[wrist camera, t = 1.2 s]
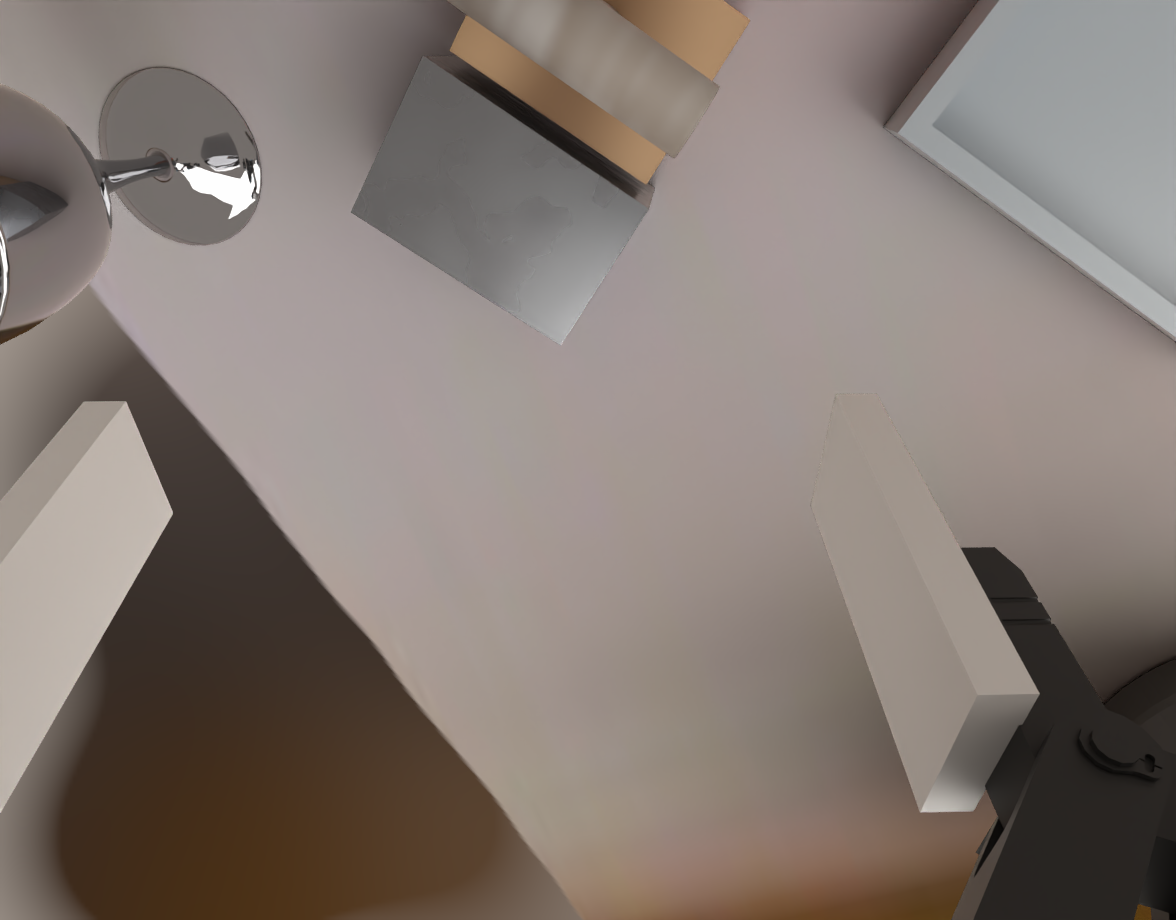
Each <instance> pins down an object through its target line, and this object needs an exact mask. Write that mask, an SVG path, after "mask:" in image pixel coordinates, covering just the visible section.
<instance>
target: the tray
mask: <svg viewBox="0 0 1176 920" xmlns="http://www.w3.org/2000/svg"><path fill="white" fill-rule="evenodd" d="M883 128H885V129H886V130H887V131H889V132H890V133H891V134H893V135H894V136H896V137H897V138H898V139H900V140H901V141H902V142H904V143H905V144H906V145H908V146H909V147H910V148H912V149H913V150H915V151H916V152H917V153H919V154H920V155H921V156H923V157H924V158H925V159H927V160H928V161H930V162H931V163H932V164H934V165H935V166H936V167H938V168H939V169H940V170H942V171H943V172H945V173H946V174H947V175H949V176H950V177H951V178H953V179H954V180H955V181H957V182H958V183H960V184H961V185H962V186H964V187H965V188H966V189H968V190H969V191H970V192H972V193H973V194H974V195H976V196H977V197H979V198H980V199H981V200H983V201H984V202H985V203H987V204H988V205H989V206H991V207H992V208H994V209H995V210H996V211H998V212H999V213H1000V214H1002V215H1003V216H1004V217H1006V218H1007V219H1009V220H1010V221H1011V222H1013V223H1014V224H1015V225H1017V226H1018V227H1019V228H1021V229H1022V230H1024V231H1025V232H1026V233H1028V234H1029V235H1030V236H1032V237H1033V238H1034V239H1036V240H1037V241H1038V242H1040V243H1041V244H1043V245H1044V246H1045V247H1047V248H1048V249H1049V250H1051V251H1052V252H1053V253H1055V254H1056V255H1058V256H1059V257H1060V258H1062V259H1063V260H1064V261H1066V262H1067V263H1068V264H1070V265H1071V266H1073V267H1074V268H1075V269H1077V270H1078V271H1079V272H1081V273H1082V274H1083V275H1085V276H1086V277H1088V278H1089V279H1090V280H1092V281H1093V282H1094V283H1096V284H1097V285H1098V286H1100V287H1101V288H1103V289H1104V290H1105V291H1107V292H1108V293H1109V294H1111V295H1112V296H1113V297H1115V298H1116V299H1117V300H1119V301H1120V302H1122V303H1123V304H1124V305H1126V306H1127V307H1128V308H1130V309H1131V310H1132V311H1134V312H1135V313H1137V314H1138V315H1139V316H1141V317H1142V318H1143V319H1145V320H1146V321H1147V322H1149V323H1150V324H1152V325H1153V326H1154V327H1156V328H1157V329H1158V330H1160V331H1161V332H1162V333H1164V334H1165V335H1167V336H1168V337H1169V338H1171V339H1172V340H1173V341H1175V342H1176V0H979V1H978V2H977V3H976V5H975V6H974V7H973V9H972V10H971V11H970V13H969V14H968V15H967V17H966V18H965V19H964V21H963V22H962V23H961V25H960V26H959V27H958V29H957V30H956V31H955V33H954V34H953V35H952V37H951V38H950V39H949V41H948V42H947V43H946V45H945V46H944V47H943V49H942V50H941V51H940V53H939V54H938V55H937V57H936V58H935V59H934V61H933V62H932V63H931V65H930V66H929V67H928V68H927V70H926V71H925V72H924V74H923V75H922V76H921V78H920V79H919V80H918V82H917V83H916V84H915V86H914V87H913V88H912V90H911V91H910V92H909V94H908V95H907V96H906V98H905V99H904V100H903V102H902V103H901V104H900V106H899V107H898V108H897V110H896V111H895V112H894V114H893V115H892V116H891V118H890V119H889V120H888V122H887V123H886V124H885V126H884V127H883Z"/></svg>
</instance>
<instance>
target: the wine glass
mask: <svg viewBox="0 0 1176 920" xmlns="http://www.w3.org/2000/svg"><path fill="white" fill-rule="evenodd" d="M99 145H100V153H101V157H102V160H101V159H94V158H93V156H92V154H91V152H90V151H89V150H88V149H87V147H86V146H85V145H84V143H83V142H82V141H81V139H80V138H79V137H78V136H77V135H76V134H75V133H74V132H73V131H72V130H71V129H70V128H69V127H68V126H67V125H66V124H65V123H64V122H63V121H62V120H61V119H60V118H59V117H58V116H57V115H56V114H54V113H53V112H52V111H50V110H49V109H48V108H47V107H45V106H44V105H43V104H41V103H40V102H38V101H36V100H34V99H33V98H31V97H29V96H27V95H26V94H24V93H22V92H19V91H17V90H15V89H13V88H10V87H8V86H6V85H3V84H0V345H1V344H3V343H5V342H7V341H9V340H11V339H13V338H15V337H17V336H19V335H21V334H23V333H25V332H27V331H29V330H31V329H32V328H34V327H35V326H37V325H38V324H40V323H41V322H43V321H44V320H45V319H47V318H48V317H50V316H51V315H53V314H54V313H55V312H57V311H58V310H60V309H61V308H63V307H64V306H65V305H67V304H68V303H69V302H70V301H71V300H72V299H73V298H75V297H76V296H77V295H78V294H79V293H80V292H81V291H82V290H83V289H84V288H85V287H86V286H87V285H88V283H89V282H90V281H91V280H92V279H93V277H94V276H95V275H96V273H97V272H98V270H99V269H100V267H101V265H102V263H103V262H104V260H105V258H106V256H107V253H108V249H109V245H110V241H111V231H112V208H111V200H110V196H109V194H110V193H112V192H113V191H116V193H117V195H118V197H119V198H120V199H121V201H122V202H123V203H124V204H125V206H126V207H127V208H128V210H129V211H130V212H131V213H132V214H133V215H134V216H135V217H136V218H137V219H138V220H139V221H141V222H142V223H143V224H145V225H146V226H147V227H149V228H150V229H151V230H153V231H155V232H156V233H158V234H160V235H162V236H164V237H165V238H168V239H171V240H173V241H176V242H179V243H184V244H189V245H211V244H217V243H220V242H222V241H225V240H227V239H230V238H231V237H233V236H234V235H236V234H237V233H238V232H240V231H241V230H242V229H243V228H244V226H245V225H246V224H247V223H248V222H249V220H250V219H251V217H252V215H253V214H254V212H255V210H256V207H257V204H258V201H259V198H260V191H261V184H262V181H261V165H260V159H259V154H258V150H257V147H256V144H255V141H254V138H253V136H252V134H251V132H250V130H249V128H248V126H247V124H246V122H245V121H244V119H243V118H242V116H241V115H240V113H239V112H238V111H237V109H236V108H235V107H234V106H233V104H232V103H231V102H230V101H229V100H228V99H227V98H226V97H225V96H224V95H223V94H222V93H221V92H219V91H218V90H217V89H216V88H215V87H213V86H212V85H211V84H209V83H208V82H206V81H204V80H202V79H201V78H199V77H197V76H195V75H193V74H190V73H187V72H185V71H182V70H177V69H172V68H149V69H145V70H140V71H138V72H136V73H134V74H132V75H130V76H128V77H126V78H125V79H124V80H123V81H121V82H120V83H119V84H118V85H117V86H116V87H115V89H114V90H113V91H112V93H111V94H110V95H109V97H108V99H107V101H106V103H105V105H104V107H103V110H102V115H101V119H100V124H99Z"/></svg>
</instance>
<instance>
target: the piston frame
mask: <svg viewBox="0 0 1176 920" xmlns="http://www.w3.org/2000/svg"><path fill="white" fill-rule="evenodd" d="M654 190H655V188H654V187H653V186H651V185H650V184H648V183H647V184H644V183H643V182H641V181H640V180H638V179H637V178H635V177H634V176H632V175H631V174H629V173H628V172H627V171H625V170H624V169H622V168H621V167H619V166H618V165H616V164H615V163H613V162H612V161H610V160H609V159H608V158H606V157H605V156H603V155H602V154H600V153H599V152H597V151H596V150H594V149H593V148H591V147H590V146H589V145H587V144H586V143H584V142H583V141H581V140H580V139H578V138H577V137H575V136H574V135H572V134H571V133H569V132H568V131H567V130H565V129H564V128H562V127H561V126H559V125H558V124H556V123H555V122H553V121H552V120H550V119H549V118H548V117H546V116H545V115H543V114H542V113H540V112H539V111H537V110H536V109H534V108H533V107H531V106H530V105H529V104H527V103H526V102H524V101H523V100H521V99H520V98H518V97H517V96H515V95H514V94H512V93H511V92H509V91H508V90H507V89H505V88H504V87H502V86H501V85H499V84H498V83H496V82H495V81H493V80H492V79H490V78H489V77H488V76H486V75H485V74H483V73H482V72H480V71H479V70H477V69H476V68H474V67H473V66H471V65H470V64H468V63H467V62H466V61H464V60H463V59H461V58H460V57H458V56H423V57H422V59H421V61H420V63H419V65H418V68H417V70H416V72H415V74H414V76H413V78H412V81H411V83H410V85H409V87H408V89H407V91H406V94H405V96H404V98H403V100H402V102H401V104H400V107H399V109H398V111H397V113H396V115H395V117H394V120H393V122H392V124H391V126H390V128H389V130H388V133H387V135H386V137H385V139H384V141H383V143H382V146H381V148H380V150H379V152H378V154H377V157H376V159H375V161H374V163H373V165H372V167H371V170H370V172H369V174H368V176H367V178H366V180H365V183H364V185H363V187H362V189H361V191H360V193H359V196H358V198H357V200H356V202H355V204H354V206H353V209H352V211H351V213H353V214H354V215H356V216H357V217H359V218H361V219H362V220H364V221H365V222H367V223H368V224H370V225H372V226H373V227H375V228H376V229H378V230H379V231H381V232H383V233H384V234H386V235H387V236H389V237H390V238H392V239H394V240H395V241H397V242H398V243H400V244H401V245H403V246H405V247H406V248H408V249H409V250H411V251H412V252H414V253H416V254H417V255H419V256H420V257H422V258H423V259H425V260H427V261H428V262H430V263H431V264H433V265H434V266H436V267H438V268H439V269H441V270H442V271H444V272H445V273H447V274H449V275H450V276H452V277H453V278H455V279H456V280H458V281H460V282H461V283H463V284H464V285H466V286H467V287H469V288H471V289H472V290H474V291H475V292H477V293H478V294H480V295H482V296H483V297H485V298H486V299H488V300H489V301H491V302H493V303H494V304H496V305H497V306H499V307H501V308H502V309H504V310H505V311H507V312H508V313H510V314H512V315H513V316H515V317H516V318H518V319H519V320H521V321H523V322H524V323H526V324H527V325H529V326H530V327H532V328H534V329H535V330H537V331H538V332H540V333H541V334H543V335H545V336H546V337H548V338H549V339H551V340H552V341H554V342H556V343H557V344H559V345H560V346H561V344H562V343H563V341H564V340H565V338H566V337H567V335H568V334H569V332H570V331H571V329H572V327H573V326H574V324H575V323H576V321H577V320H578V318H579V317H580V315H581V313H582V312H583V310H584V309H585V307H586V306H587V304H588V303H589V301H590V300H591V298H592V296H593V295H594V293H595V292H596V290H597V289H598V287H599V286H600V284H601V282H602V281H603V279H604V278H605V276H606V275H607V273H608V272H609V270H610V269H611V267H612V265H613V264H614V262H615V261H616V259H617V258H618V256H619V255H620V253H621V251H622V250H623V248H624V247H625V245H626V244H627V242H628V241H629V239H630V238H631V236H632V234H633V233H634V231H635V230H636V228H637V227H638V225H639V224H640V222H641V220H642V219H643V217H644V216H645V214H646V213H647V211H648V210H649V207H650V204H651V200H652V197H653V193H654Z"/></svg>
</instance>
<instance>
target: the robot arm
mask: <svg viewBox="0 0 1176 920" xmlns="http://www.w3.org/2000/svg"><path fill="white" fill-rule="evenodd" d="M811 508H812V511H813V513H814V516H815V519H816V522H817V525H818V527H819V530H820V533H821V536H822V539H823V541H824V544H825V547H826V550H827V553H828V555H829V558H830V561H831V564H832V567H833V570H834V572H835V575H836V578H837V581H838V584H839V586H840V589H841V592H842V595H843V598H844V600H845V603H846V606H847V609H848V612H849V614H850V617H851V620H852V623H853V626H854V628H855V631H856V634H857V637H858V640H859V642H860V645H861V648H862V651H863V654H864V656H865V659H866V662H867V665H868V668H869V670H870V673H871V676H872V679H873V682H874V685H875V687H876V690H877V693H878V696H879V699H880V701H881V704H882V707H883V710H884V713H885V715H886V718H887V721H888V724H889V727H890V729H891V732H892V735H893V738H894V741H895V743H896V746H897V749H898V752H899V755H900V757H901V760H902V763H903V766H904V769H905V771H906V774H907V777H908V780H909V783H910V785H911V788H912V791H913V794H914V797H915V799H916V802H917V805H918V808H919V811H920V812H967V811H974V809H975V808H976V806H977V804H978V802H979V800H980V799H981V797H982V795H983V793H984V792H985V790H987V792H988V794H989V797H990V799H991V801H992V804H993V806H994V808H995V810H996V813H997V815H998V817H997V818H996V820H995V822H994V823H993V825H992V827H991V828H990V830H989V832H988V833H987V835H986V837H985V838H984V840H983V841H982V843H981V845H980V846H979V848H978V850H977V851H976V853H978V854H979V857H978V859H977V862H976V864H975V866H974V869H973V871H972V873H971V875H970V878H969V880H968V882H967V885H966V887H965V889H964V892H963V894H962V896H961V899H960V901H959V903H958V905H957V908H956V910H955V912H954V915H953V917H952V919H951V920H1134V917H1135V913H1136V909H1137V906H1138V904H1141V905H1144V906H1148V907H1151V915H1152V920H1176V659H1175V660H1172V661H1170V662H1168V663H1165V664H1163V665H1161V666H1159V667H1157V668H1155V669H1153V670H1151V671H1149V672H1148V673H1146V674H1144V675H1142V676H1141V677H1139V678H1138V679H1136V680H1134V681H1133V682H1132V683H1130V684H1129V685H1127V686H1126V687H1124V688H1123V689H1122V690H1121V691H1119V692H1118V693H1117V694H1116V695H1115V696H1113V697H1112V698H1111V699H1110V700H1109V701H1108V702H1107V703H1106V704H1105V705H1103V703H1102V702H1101V700H1100V699H1099V697H1098V695H1097V694H1096V692H1095V690H1094V689H1093V687H1092V685H1091V684H1090V682H1089V681H1088V679H1087V677H1086V676H1085V674H1084V672H1083V671H1082V669H1081V667H1080V666H1079V664H1078V663H1077V661H1076V659H1075V658H1074V656H1073V654H1072V653H1071V651H1070V649H1069V648H1068V646H1067V644H1066V643H1065V641H1064V640H1063V638H1062V636H1061V635H1060V633H1059V631H1058V630H1057V628H1056V626H1055V625H1054V624H1051V621H1050V620H1051V618H1050V617H1049V615H1048V613H1047V612H1046V610H1045V608H1044V607H1043V605H1042V603H1041V602H1038V601H1037V598H1038V597H1037V595H1036V594H1035V592H1034V590H1033V589H1032V587H1031V585H1030V584H1029V582H1028V580H1027V579H1026V577H1025V575H1024V574H1023V572H1022V571H1021V570H1020V569H1019V568H1018V567H1017V566H1016V565H1014V564H1013V563H1012V562H1011V561H1010V560H1009V559H1007V558H1006V557H1005V556H1004V555H1003V554H1002V553H1000V552H999V551H998V550H997V549H996V548H995V547H981V548H960V546H959V544H958V542H957V541H956V539H955V537H954V535H953V533H952V531H951V530H950V528H949V526H948V524H947V522H946V520H945V519H944V517H943V515H942V513H941V511H940V509H939V507H938V506H937V504H936V502H935V500H934V498H933V496H932V495H931V493H930V491H929V489H928V487H927V485H926V484H925V482H924V480H923V478H922V476H921V474H920V473H919V471H918V469H917V467H916V465H915V463H914V461H913V460H912V458H911V456H910V454H909V452H908V450H907V449H906V447H905V445H904V443H903V441H902V439H901V438H900V436H899V434H898V432H897V430H896V428H895V427H894V425H893V423H892V421H891V419H890V417H889V415H888V414H887V412H886V410H885V408H884V406H883V404H882V403H881V401H880V399H879V397H878V395H877V394H836V395H835V400H834V404H833V409H832V413H831V417H830V422H829V426H828V431H827V435H826V440H825V444H824V448H823V453H822V457H821V462H820V466H819V471H818V475H817V479H816V484H815V488H814V493H813V497H812V501H811ZM172 514H173V512H172V509H171V507H170V504H169V502H168V500H167V497H166V495H165V493H164V490H163V488H162V486H161V483H160V481H159V478H158V476H157V474H156V471H155V469H154V467H153V464H152V463H151V460H150V457H149V455H148V453H147V450H146V448H145V445H144V443H143V441H142V438H141V436H140V434H139V431H138V429H137V427H136V424H135V422H134V419H133V417H132V415H131V412H130V410H129V408H128V405H127V403H126V401H106V402H105V401H102V402H83V403H82V404H81V406H80V407H79V408H78V409H77V410H76V412H75V413H74V414H73V415H72V416H71V418H70V419H69V420H68V421H67V422H66V424H65V425H64V426H63V427H62V428H61V430H60V431H59V432H58V433H57V434H56V435H55V436H54V438H53V439H52V440H51V441H50V442H49V444H48V445H47V446H46V447H45V448H44V450H43V451H42V452H41V453H40V454H39V455H38V457H37V458H36V459H35V460H34V461H33V463H32V464H31V465H30V466H29V467H28V469H27V470H26V471H25V472H24V474H22V476H21V477H20V478H19V479H18V481H17V482H16V483H15V484H14V485H13V487H11V489H10V490H9V491H8V492H7V494H6V495H5V496H4V497H3V498H2V499H1V501H0V813H1V811H2V809H3V807H4V805H5V804H6V802H7V801H8V799H9V797H10V795H11V794H12V792H13V790H14V788H15V787H16V785H17V783H18V782H19V780H20V778H21V776H22V775H23V773H24V771H25V769H26V768H27V766H28V764H29V762H30V761H31V759H32V757H33V756H34V754H35V752H36V750H37V749H38V747H39V745H40V743H41V742H42V740H43V738H44V736H45V734H46V733H47V731H48V729H49V728H50V726H51V724H52V723H53V721H54V719H55V717H56V715H57V714H58V712H59V710H60V709H61V707H62V705H63V703H64V702H65V700H66V698H67V696H68V695H69V693H70V691H71V690H72V688H73V686H74V684H75V682H76V681H77V679H78V677H79V676H80V674H81V672H82V670H83V669H84V667H85V665H86V664H87V662H88V660H89V658H90V656H91V655H92V653H93V651H94V650H95V648H96V646H97V644H98V643H99V641H100V639H101V638H102V636H103V634H104V632H105V631H106V629H107V627H108V625H109V624H110V622H111V620H112V618H113V617H114V615H115V613H116V612H117V610H118V608H119V606H120V605H121V603H122V601H123V599H124V598H125V596H126V594H127V592H128V591H129V589H130V587H131V585H132V584H133V582H134V580H135V579H136V577H137V575H138V573H139V571H140V570H141V568H142V566H143V564H144V563H145V561H146V559H147V558H148V556H149V554H150V552H151V551H152V549H153V547H154V546H155V544H156V542H157V540H158V539H159V537H160V535H161V533H162V532H163V530H164V528H165V527H166V525H167V523H168V521H169V520H170V518H171V516H172Z"/></svg>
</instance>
